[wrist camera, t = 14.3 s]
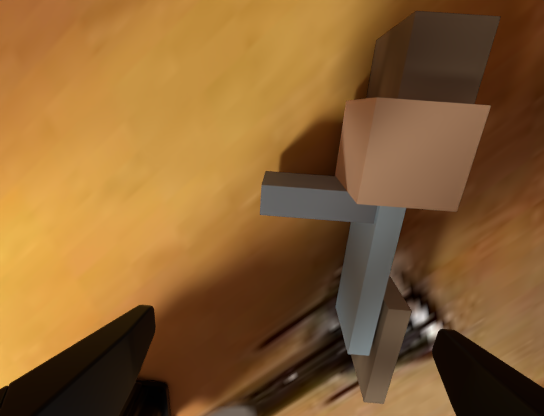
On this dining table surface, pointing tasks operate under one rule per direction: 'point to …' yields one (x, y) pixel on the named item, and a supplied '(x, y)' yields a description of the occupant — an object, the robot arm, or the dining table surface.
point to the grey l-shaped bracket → (360, 246)
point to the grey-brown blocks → (426, 87)
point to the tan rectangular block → (408, 151)
